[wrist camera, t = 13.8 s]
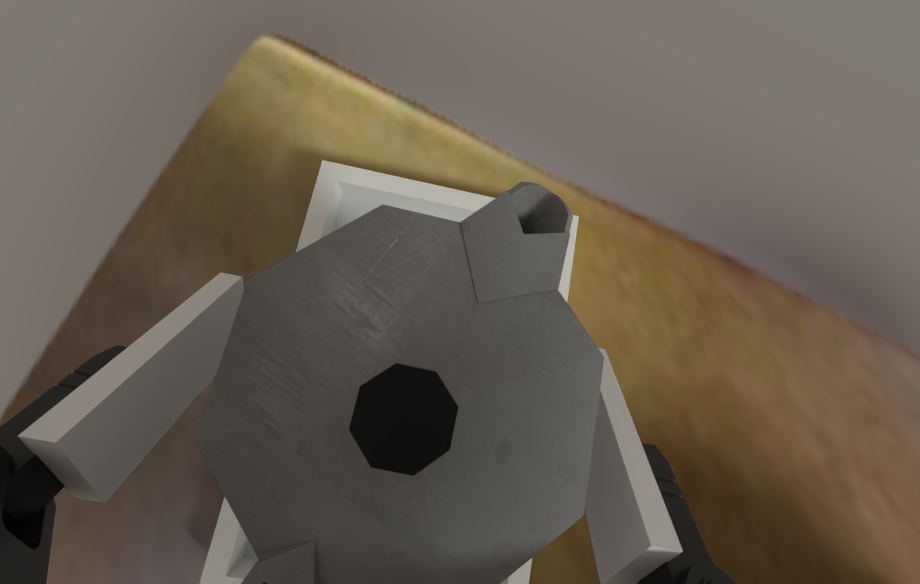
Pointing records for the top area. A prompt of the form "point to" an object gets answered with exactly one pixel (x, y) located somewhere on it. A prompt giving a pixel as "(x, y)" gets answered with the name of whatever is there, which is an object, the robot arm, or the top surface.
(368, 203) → the docking tray
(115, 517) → the top surface
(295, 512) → the coffeepot
